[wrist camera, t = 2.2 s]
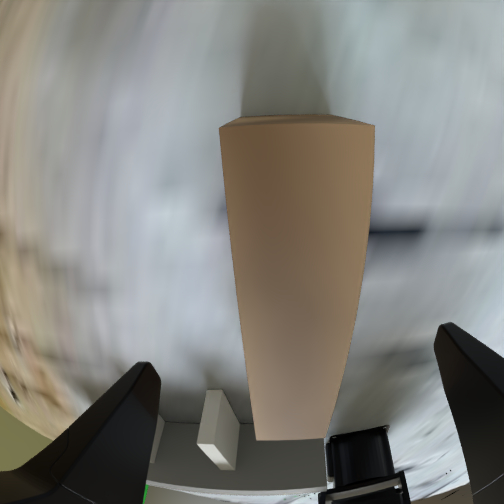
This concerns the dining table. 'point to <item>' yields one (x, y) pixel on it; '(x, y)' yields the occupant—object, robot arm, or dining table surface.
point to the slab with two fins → (232, 457)
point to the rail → (297, 259)
